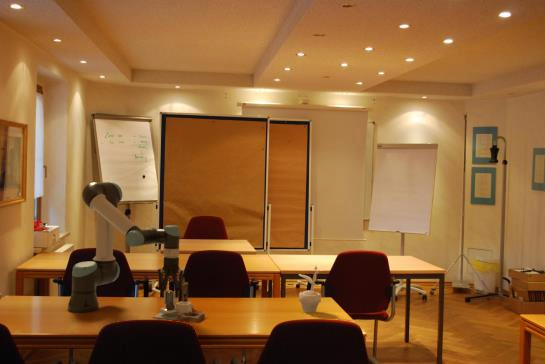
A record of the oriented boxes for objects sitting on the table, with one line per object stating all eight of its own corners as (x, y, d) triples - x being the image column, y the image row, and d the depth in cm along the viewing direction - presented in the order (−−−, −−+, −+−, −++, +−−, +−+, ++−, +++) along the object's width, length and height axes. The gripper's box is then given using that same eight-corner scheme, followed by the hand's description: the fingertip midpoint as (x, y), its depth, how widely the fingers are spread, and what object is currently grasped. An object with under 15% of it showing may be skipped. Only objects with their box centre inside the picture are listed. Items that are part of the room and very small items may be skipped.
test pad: (157, 313, 273) (157, 310, 273) (164, 309, 282) (164, 306, 282) (174, 315, 271) (174, 311, 271) (181, 310, 280) (181, 307, 280)
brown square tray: (178, 320, 269) (178, 316, 269) (185, 315, 279) (185, 311, 279) (197, 322, 267) (197, 318, 267) (204, 317, 277) (204, 313, 277)
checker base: (153, 317, 272) (153, 316, 272) (162, 312, 284) (162, 311, 284) (176, 320, 269) (176, 319, 269) (185, 314, 281) (185, 313, 281)
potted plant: (323, 311, 298) (325, 264, 297) (315, 315, 287) (317, 267, 287) (301, 308, 303) (303, 262, 303) (293, 312, 292) (295, 265, 292)
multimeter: (193, 313, 284) (194, 274, 284) (175, 311, 286) (176, 272, 286) (202, 306, 299) (204, 269, 298) (185, 304, 301) (186, 268, 300)
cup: (175, 316, 277) (176, 304, 277) (180, 313, 283) (180, 301, 283) (187, 317, 276) (187, 305, 276) (191, 314, 282) (191, 302, 281)
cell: (164, 309, 275) (164, 291, 275) (167, 307, 279) (168, 289, 279) (172, 309, 274) (173, 291, 274) (176, 307, 278) (176, 290, 278)
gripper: (151, 256, 274) (150, 304, 275) (185, 258, 271) (183, 306, 271) (158, 254, 282) (157, 300, 282) (190, 256, 278) (189, 303, 278)
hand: (170, 303), depth 276 cm, fingers closed on cell, 4 cm apart
